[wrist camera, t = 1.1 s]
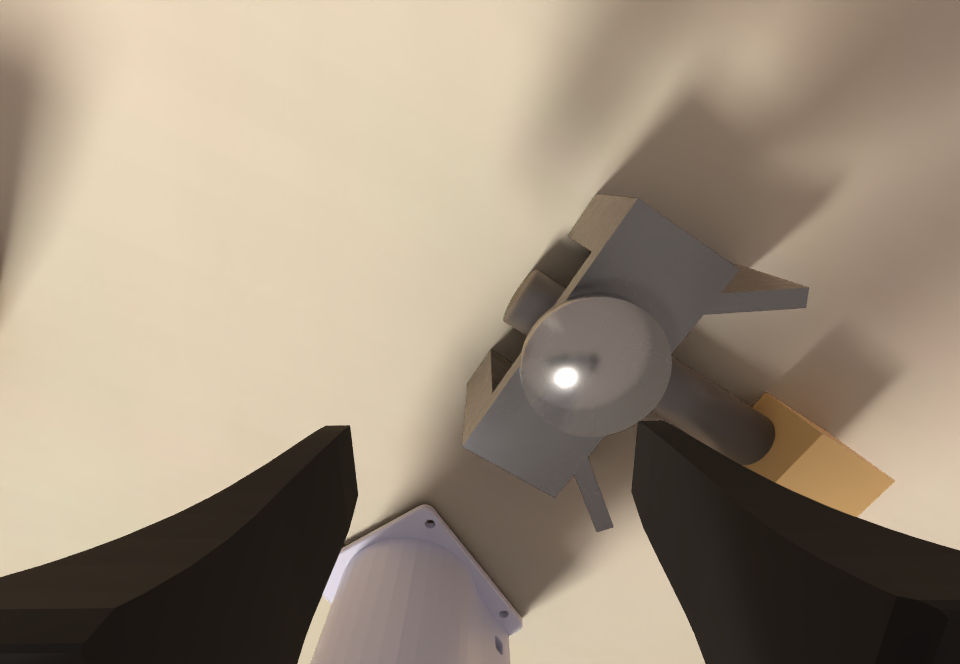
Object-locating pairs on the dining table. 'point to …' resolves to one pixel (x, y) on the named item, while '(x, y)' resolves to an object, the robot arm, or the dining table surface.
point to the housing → (605, 346)
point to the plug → (741, 424)
